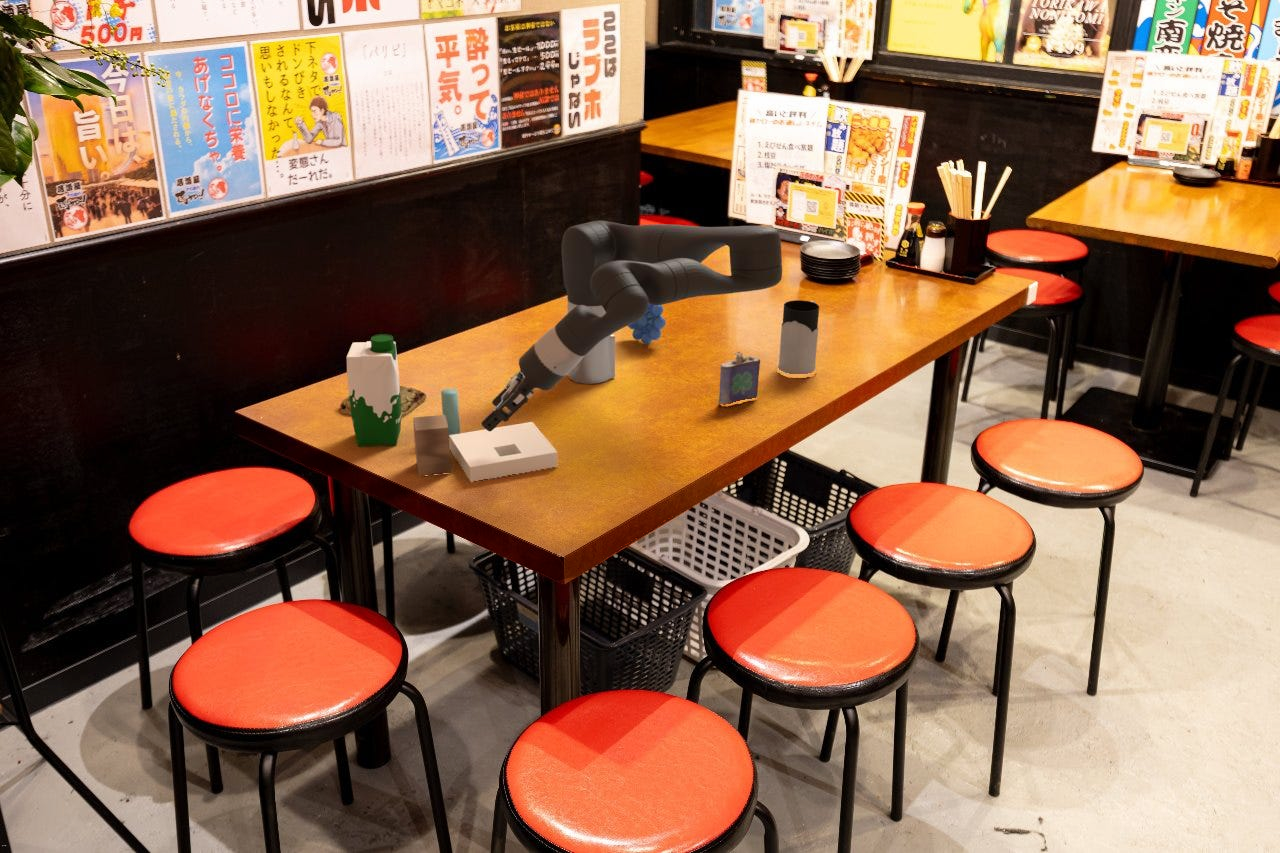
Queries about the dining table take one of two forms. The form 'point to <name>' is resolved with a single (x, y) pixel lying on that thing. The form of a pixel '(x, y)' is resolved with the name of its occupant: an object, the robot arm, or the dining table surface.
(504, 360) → the dining table surface
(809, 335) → the glass holder
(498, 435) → the board
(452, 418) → the peg
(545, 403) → the dining table surface
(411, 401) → the pastry
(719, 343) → the dining table surface
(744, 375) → the flask
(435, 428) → the grey brown block
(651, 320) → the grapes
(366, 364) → the milk carton
